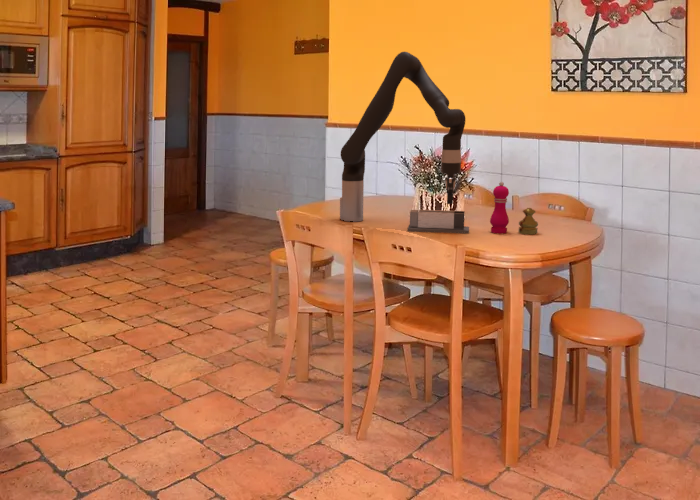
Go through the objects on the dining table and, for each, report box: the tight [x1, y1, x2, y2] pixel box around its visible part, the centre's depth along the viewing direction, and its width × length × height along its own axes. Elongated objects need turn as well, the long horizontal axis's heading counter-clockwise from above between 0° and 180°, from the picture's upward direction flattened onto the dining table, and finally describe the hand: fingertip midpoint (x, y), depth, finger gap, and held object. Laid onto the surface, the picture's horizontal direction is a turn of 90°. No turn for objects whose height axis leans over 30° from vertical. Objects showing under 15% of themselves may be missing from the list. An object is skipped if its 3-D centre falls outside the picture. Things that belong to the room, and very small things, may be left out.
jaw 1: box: [418, 209, 466, 216], centre depth 280 cm, size 18×1×6 cm, turn 80°
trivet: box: [407, 223, 470, 235], centre depth 279 cm, size 24×9×1 cm, turn 80°
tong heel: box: [409, 209, 420, 227], centre depth 279 cm, size 3×5×6 cm, turn 170°
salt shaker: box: [518, 207, 539, 236], centre depth 273 cm, size 7×7×10 cm
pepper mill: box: [489, 181, 510, 235], centre depth 274 cm, size 7×7×20 cm
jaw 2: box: [418, 212, 466, 229], centre depth 275 cm, size 18×1×6 cm, turn 80°
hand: (450, 202), depth 276 cm, fingers open, 8 cm apart
